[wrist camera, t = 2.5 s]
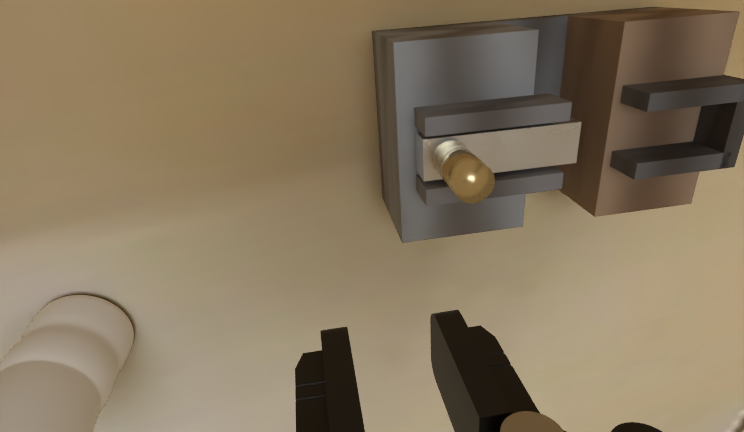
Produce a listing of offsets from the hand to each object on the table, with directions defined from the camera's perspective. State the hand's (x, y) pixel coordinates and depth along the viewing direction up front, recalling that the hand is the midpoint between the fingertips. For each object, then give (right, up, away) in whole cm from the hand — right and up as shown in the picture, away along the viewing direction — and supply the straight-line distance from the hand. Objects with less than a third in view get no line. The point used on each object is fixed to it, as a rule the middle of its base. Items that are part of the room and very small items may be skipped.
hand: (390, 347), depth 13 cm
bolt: (+6, +8, +15) cm, 18 cm away
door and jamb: (+10, +12, +22) cm, 27 cm away
